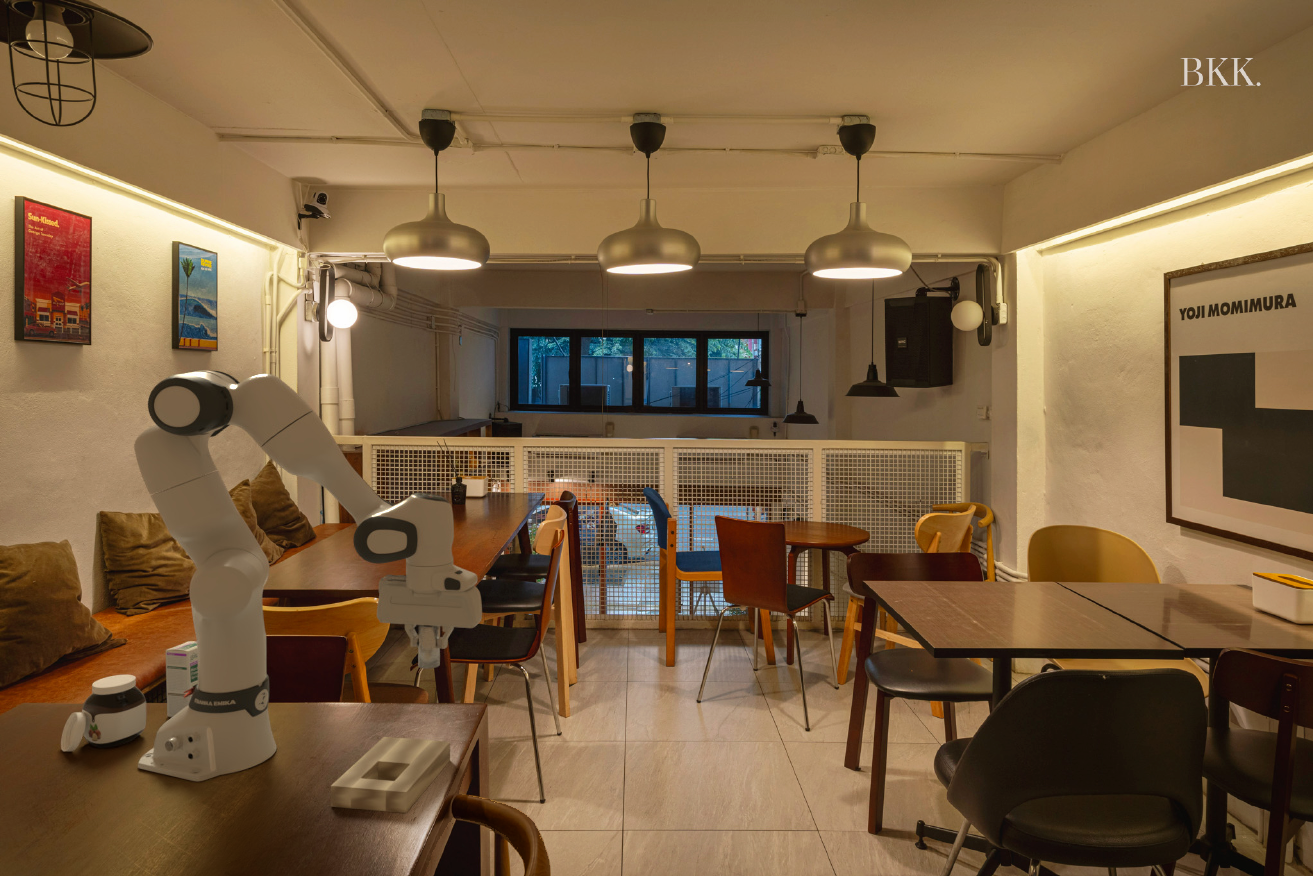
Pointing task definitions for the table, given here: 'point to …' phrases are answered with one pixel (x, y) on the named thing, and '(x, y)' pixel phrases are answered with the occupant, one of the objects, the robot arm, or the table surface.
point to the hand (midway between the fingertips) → (429, 646)
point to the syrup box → (180, 675)
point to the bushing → (428, 647)
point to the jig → (391, 775)
